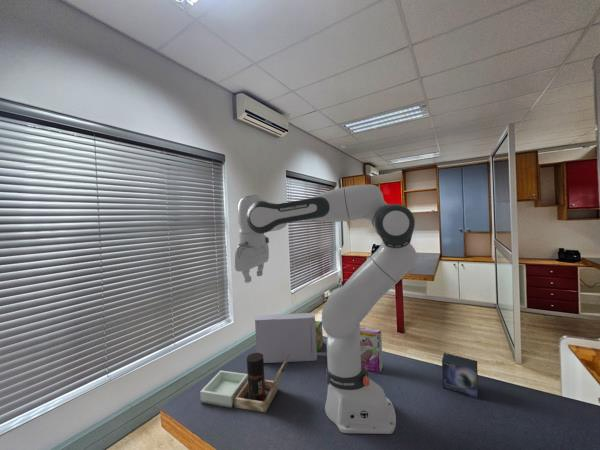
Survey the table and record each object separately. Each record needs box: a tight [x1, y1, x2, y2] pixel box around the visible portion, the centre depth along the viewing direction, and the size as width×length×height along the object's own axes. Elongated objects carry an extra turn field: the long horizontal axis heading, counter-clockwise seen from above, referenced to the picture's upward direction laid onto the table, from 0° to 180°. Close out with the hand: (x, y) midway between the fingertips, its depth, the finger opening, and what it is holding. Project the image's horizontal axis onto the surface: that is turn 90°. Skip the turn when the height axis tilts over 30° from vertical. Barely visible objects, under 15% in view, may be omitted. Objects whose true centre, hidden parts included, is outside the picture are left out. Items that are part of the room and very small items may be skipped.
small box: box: [441, 352, 479, 400], centre depth 88 cm, size 11×6×10 cm, turn 53°
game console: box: [254, 312, 318, 364], centre depth 113 cm, size 6×27×20 cm, turn 89°
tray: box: [199, 369, 248, 409], centre depth 93 cm, size 13×13×4 cm
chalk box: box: [315, 320, 324, 353], centre depth 123 cm, size 9×9×15 cm
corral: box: [234, 379, 279, 413], centre depth 89 cm, size 12×12×3 cm
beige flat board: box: [265, 355, 289, 404], centre depth 87 cm, size 12×12×1 cm
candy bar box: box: [360, 325, 384, 374], centre depth 104 cm, size 11×5×16 cm, turn 58°
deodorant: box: [246, 352, 266, 402], centre depth 89 cm, size 6×6×15 cm
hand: (254, 278), depth 89 cm, fingers open, 8 cm apart
